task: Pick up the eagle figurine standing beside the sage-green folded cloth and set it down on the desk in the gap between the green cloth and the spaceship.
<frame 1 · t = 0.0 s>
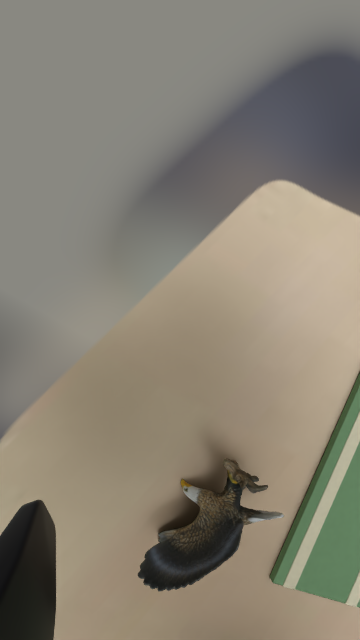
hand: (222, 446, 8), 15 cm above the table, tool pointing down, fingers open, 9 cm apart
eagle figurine: (198, 496, 25), on the table
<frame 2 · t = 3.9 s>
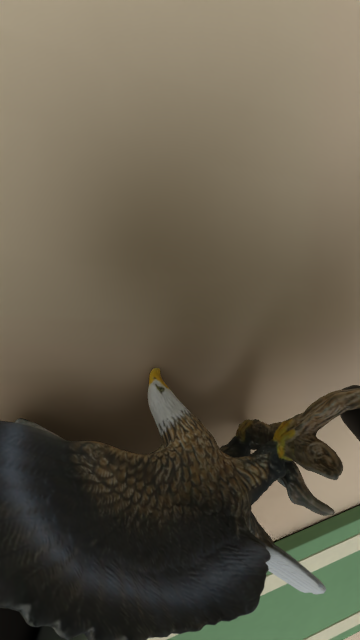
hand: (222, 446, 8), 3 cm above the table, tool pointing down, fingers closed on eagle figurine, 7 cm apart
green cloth: (302, 592, 17), on the table
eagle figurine: (144, 423, 11), on the table, touching gripper
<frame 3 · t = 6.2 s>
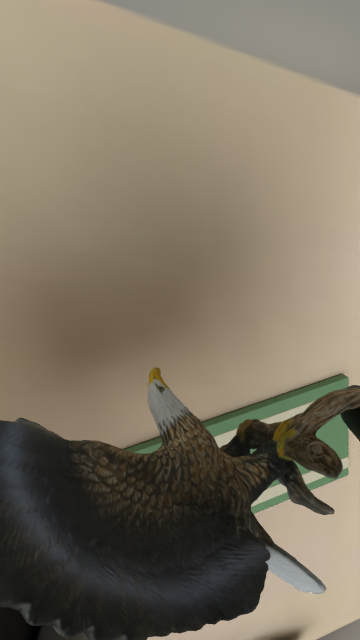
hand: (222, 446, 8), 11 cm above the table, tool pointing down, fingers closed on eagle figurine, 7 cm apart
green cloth: (231, 467, 24), on the table
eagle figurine: (144, 423, 11), point 8 cm above the table, touching gripper
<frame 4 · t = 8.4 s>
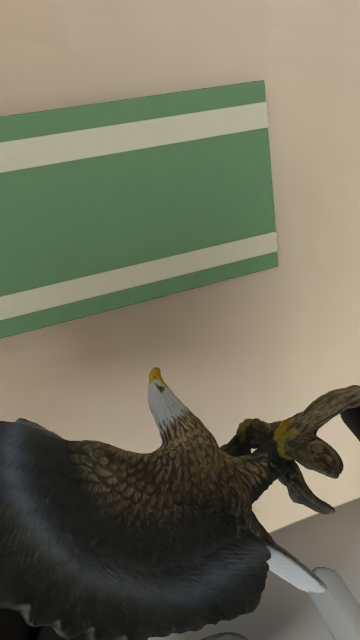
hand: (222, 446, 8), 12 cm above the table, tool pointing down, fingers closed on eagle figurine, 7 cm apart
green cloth: (101, 217, 17), on the table
eye dropper bottle: (319, 577, 33), on the table
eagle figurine: (144, 423, 11), point 9 cm above the table, touching gripper
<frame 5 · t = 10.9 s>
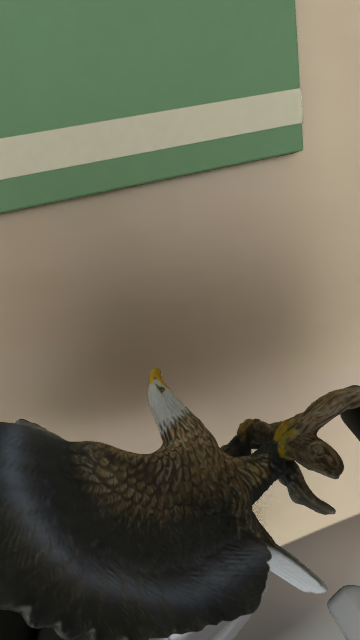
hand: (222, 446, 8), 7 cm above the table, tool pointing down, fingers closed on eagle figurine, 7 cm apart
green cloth: (15, 40, 10), on the table
eye dropper bottle: (347, 597, 26), on the table
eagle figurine: (144, 423, 11), point 4 cm above the table, touching gripper
when the fingers open (3 cm above the table, at t = 12.9 s): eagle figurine stays where it is, on the table.
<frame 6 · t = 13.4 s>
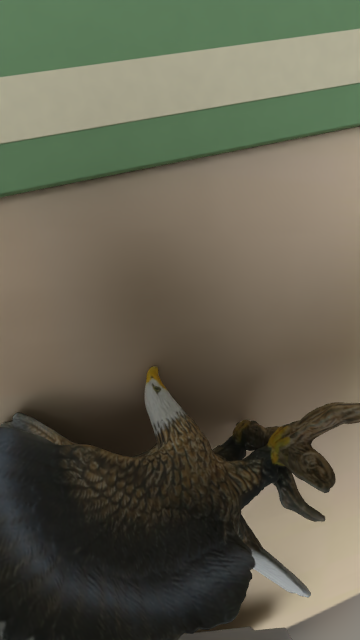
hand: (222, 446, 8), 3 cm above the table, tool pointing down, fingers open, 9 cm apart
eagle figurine: (141, 419, 11), on the table
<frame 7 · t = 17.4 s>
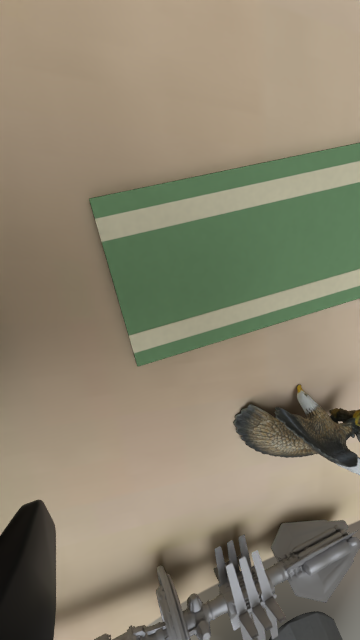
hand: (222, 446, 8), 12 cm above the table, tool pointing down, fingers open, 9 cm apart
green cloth: (268, 249, 20), on the table
coffeepot: (300, 629, 35), on the table
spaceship: (162, 571, 27), on the table
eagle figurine: (289, 407, 25), on the table
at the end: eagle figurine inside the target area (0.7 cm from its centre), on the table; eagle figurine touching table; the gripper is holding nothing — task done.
